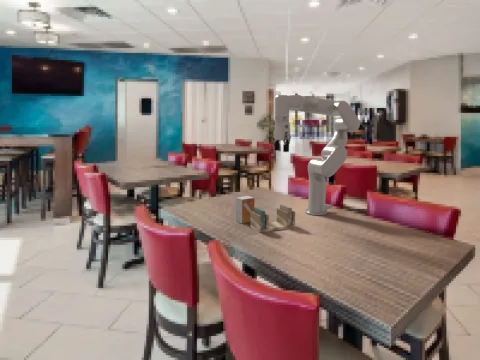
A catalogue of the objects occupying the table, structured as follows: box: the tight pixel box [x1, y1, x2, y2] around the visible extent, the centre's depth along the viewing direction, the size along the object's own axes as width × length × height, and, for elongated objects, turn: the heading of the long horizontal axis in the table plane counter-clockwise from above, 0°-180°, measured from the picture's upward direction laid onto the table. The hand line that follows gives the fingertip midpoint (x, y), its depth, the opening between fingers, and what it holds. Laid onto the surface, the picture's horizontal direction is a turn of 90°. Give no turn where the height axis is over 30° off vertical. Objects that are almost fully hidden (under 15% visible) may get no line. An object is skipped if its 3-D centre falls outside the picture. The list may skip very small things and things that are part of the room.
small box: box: [235, 195, 255, 224], centre depth 202 cm, size 8×6×13 cm
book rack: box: [250, 203, 296, 233], centre depth 191 cm, size 20×10×10 cm, turn 114°
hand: (281, 151), depth 204 cm, fingers open, 9 cm apart
